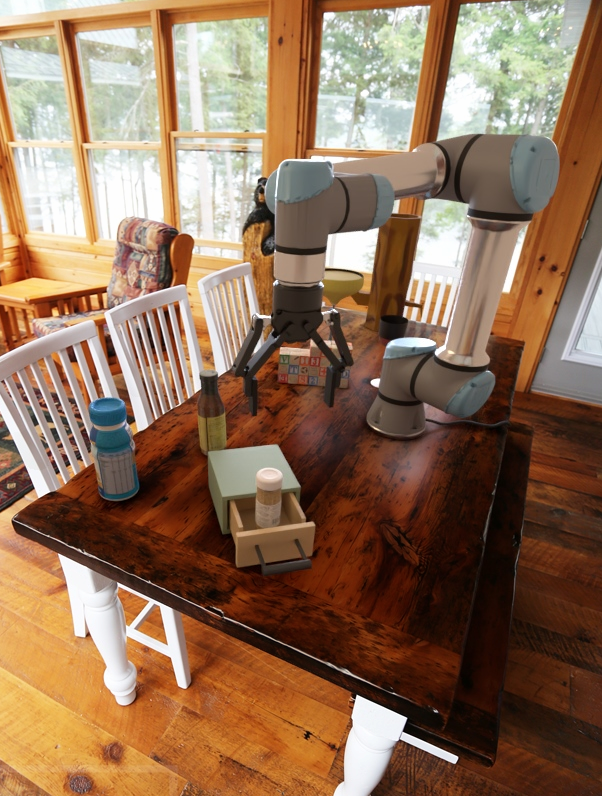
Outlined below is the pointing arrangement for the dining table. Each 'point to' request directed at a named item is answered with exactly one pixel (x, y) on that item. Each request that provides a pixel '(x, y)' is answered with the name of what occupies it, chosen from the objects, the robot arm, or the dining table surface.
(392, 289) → the decorative log
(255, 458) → the cabinet
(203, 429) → the sauce bottle
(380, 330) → the wineglass
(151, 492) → the dining table surface
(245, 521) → the drawer
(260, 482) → the spice jar
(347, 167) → the robot arm
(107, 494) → the beverage bottle
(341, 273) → the cocktail glass
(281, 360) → the stack of blocks
